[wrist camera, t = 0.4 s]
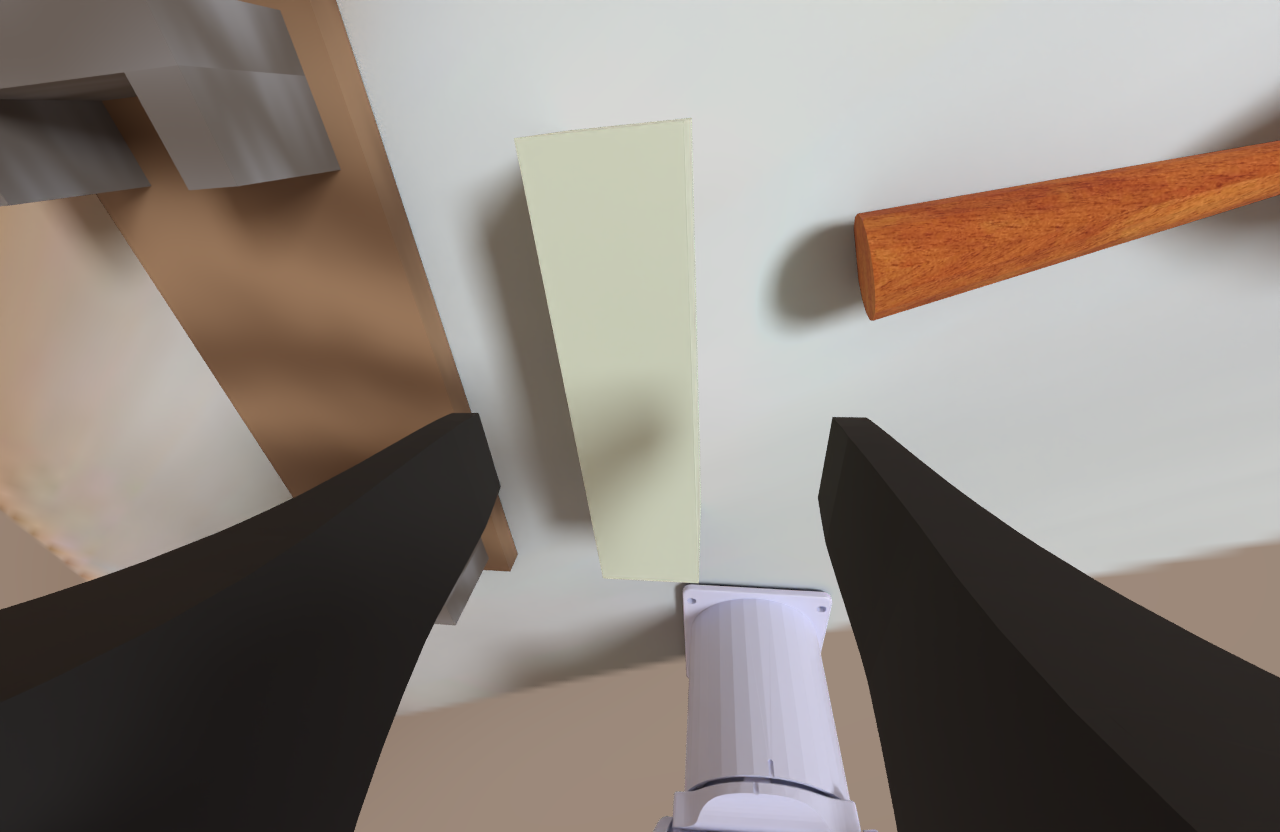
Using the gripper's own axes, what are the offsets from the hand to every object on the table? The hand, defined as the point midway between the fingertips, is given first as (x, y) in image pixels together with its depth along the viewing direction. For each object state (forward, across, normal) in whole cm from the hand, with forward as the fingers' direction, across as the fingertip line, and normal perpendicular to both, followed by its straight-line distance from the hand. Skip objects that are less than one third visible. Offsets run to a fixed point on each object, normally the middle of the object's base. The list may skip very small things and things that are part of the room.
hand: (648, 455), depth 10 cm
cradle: (+9, +15, +2) cm, 18 cm away
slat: (+10, +1, +2) cm, 10 cm away
